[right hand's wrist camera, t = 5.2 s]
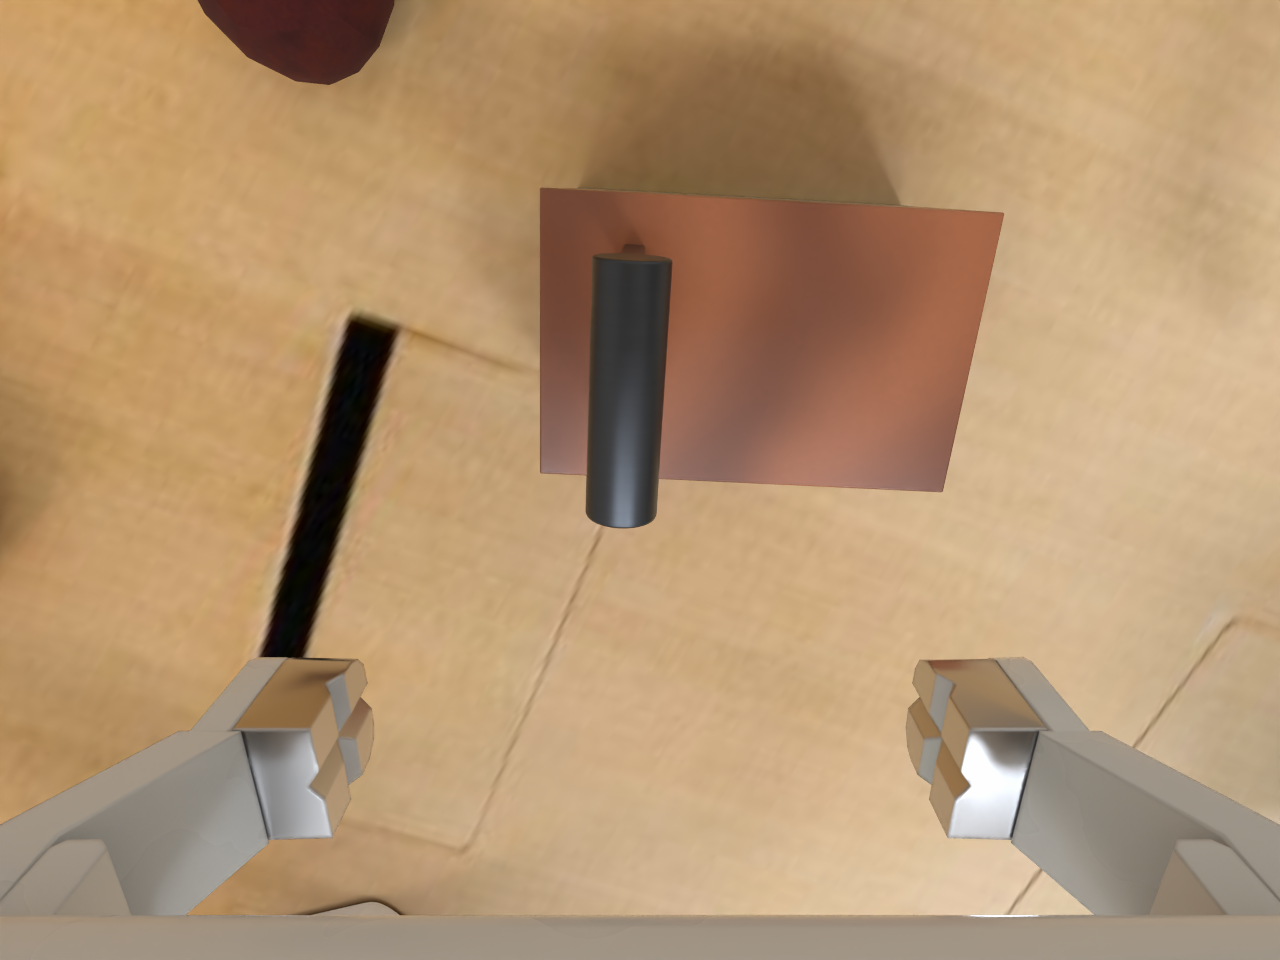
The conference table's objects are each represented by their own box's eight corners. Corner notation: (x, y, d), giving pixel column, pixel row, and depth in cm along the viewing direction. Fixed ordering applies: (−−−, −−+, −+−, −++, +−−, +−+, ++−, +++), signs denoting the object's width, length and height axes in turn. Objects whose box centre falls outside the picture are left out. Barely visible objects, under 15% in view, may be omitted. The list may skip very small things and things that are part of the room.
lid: (543, 465, 28) (505, 571, 20) (543, 187, 24) (497, 187, 17) (933, 483, 28) (1044, 595, 20) (992, 211, 25) (1154, 222, 17)
